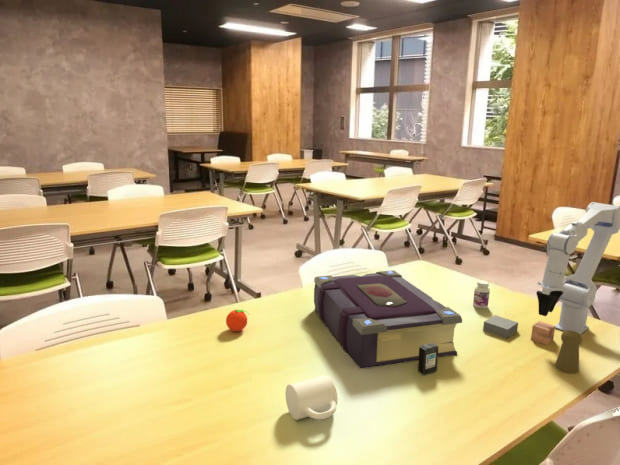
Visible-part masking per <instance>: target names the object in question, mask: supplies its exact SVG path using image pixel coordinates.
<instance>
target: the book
mask: <svg viewBox="0 0 620 465" xmlns="http://www.w3.org/2000/svg"><path fill="white" fill-rule="evenodd" d="M313 280H314V281H313V282H314V288H313V303H314V310H315V312H316V313H317V315H318V317H319V318H320V320H321V322H322V323H323V324H324V326H325V327H326V328H327V330H328V331H329V333H330V334H331V336H332V337H333V339H335V341H337V343H338V344H339V345H340V347H341V348H342V349H343V351H344V352H345V353H346V354H348V356H349V357H350V358H351V359H352V360H353V362H355V364H356V365H357V366H358V368H359V369H369V368H374V367H375V368H377V367H382V366H390V365H396V364H397V365H398V364H403V363H410V362H411V363H412V362H415V361H417V362H418V361H419V348H420V346H422V345H425V344H428V343H434V344H436V345H438V346H439V347H438V358H443V357H451V356H456V355H458V351H457V350H456V349H455V342H454V335H455V328H456V327H457V326H456V325H457V324H461V323H463V318H462V315H460V313H458V312H456V311H454V310H453V309H452V308H451V307H449V306H447V307H446V306H445V305H444V304H442V303H440V302H439V301H437V300H435V299H433V297H431V296H430V295H428V294H427V293H426V292H424V291H423V290H421V289H420V288H418V287H417V286H415V285H414V284H413V283H411V282H410V281H408V280H407V279H405V278H403V275H401V274H400V273H399V272H397V271H395V270H381V271H376V272H374V273H373V272H372V273H366V274H363V275H355V274H349V275H347V274H346V275H338V276H336V275H335V276H332V275H323V276H322V275H320V276H315V277H314V278H313Z"/></svg>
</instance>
